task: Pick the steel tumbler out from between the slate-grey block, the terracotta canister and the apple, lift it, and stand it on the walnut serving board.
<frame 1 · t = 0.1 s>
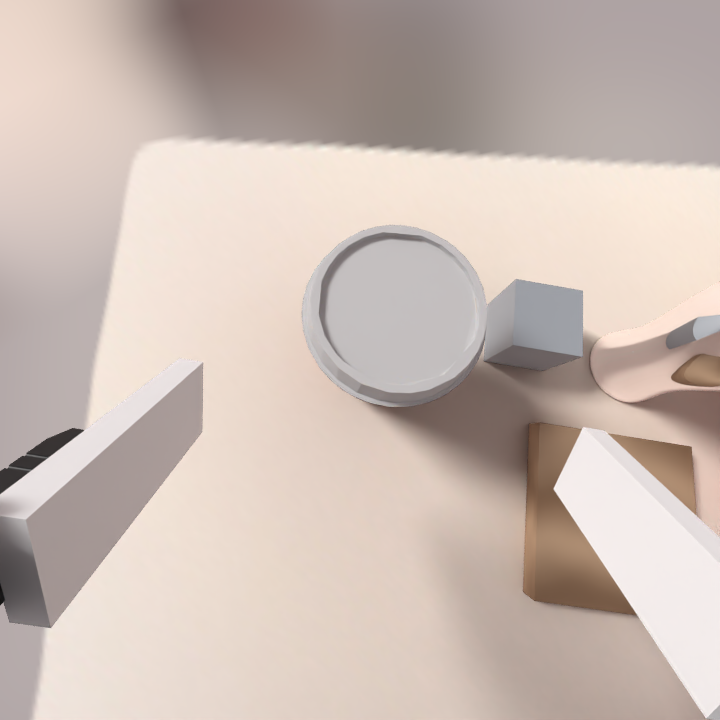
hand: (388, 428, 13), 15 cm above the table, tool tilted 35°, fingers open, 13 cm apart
disposable coffee cup: (372, 361, 29), on the table
steel tumbler: (621, 367, 31), on the table
slate block: (514, 337, 30), on the table
walnut board: (602, 514, 27), on the table
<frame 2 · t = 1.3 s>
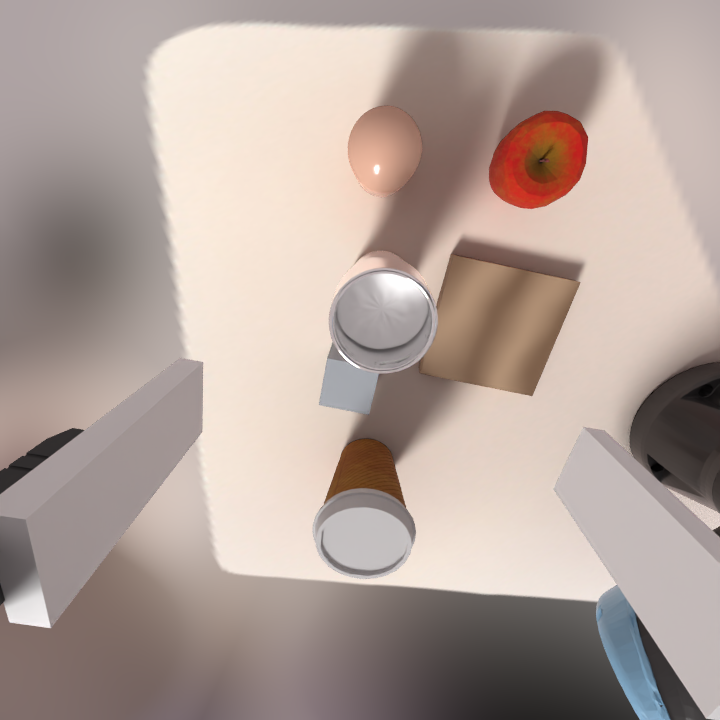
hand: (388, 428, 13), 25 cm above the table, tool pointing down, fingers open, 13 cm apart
disposable coffee cup: (366, 459, 43), on the table
terracotta canister: (382, 165, 32), on the table
steel tumbler: (380, 282, 36), on the table
apple: (511, 171, 32), on the table
slate block: (351, 367, 39), on the table
walnut board: (491, 326, 37), on the table
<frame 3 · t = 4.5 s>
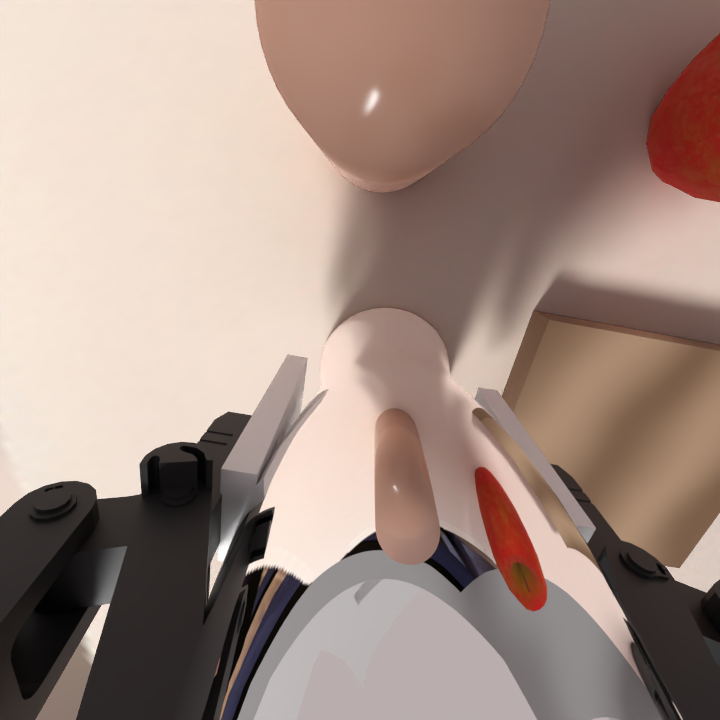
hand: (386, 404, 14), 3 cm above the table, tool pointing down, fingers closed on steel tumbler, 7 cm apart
terracotta canister: (384, 119, 14), on the table
steel tumbler: (383, 367, 18), on the table, touching gripper
apple: (687, 125, 14), on the table
walnut board: (604, 443, 19), on the table
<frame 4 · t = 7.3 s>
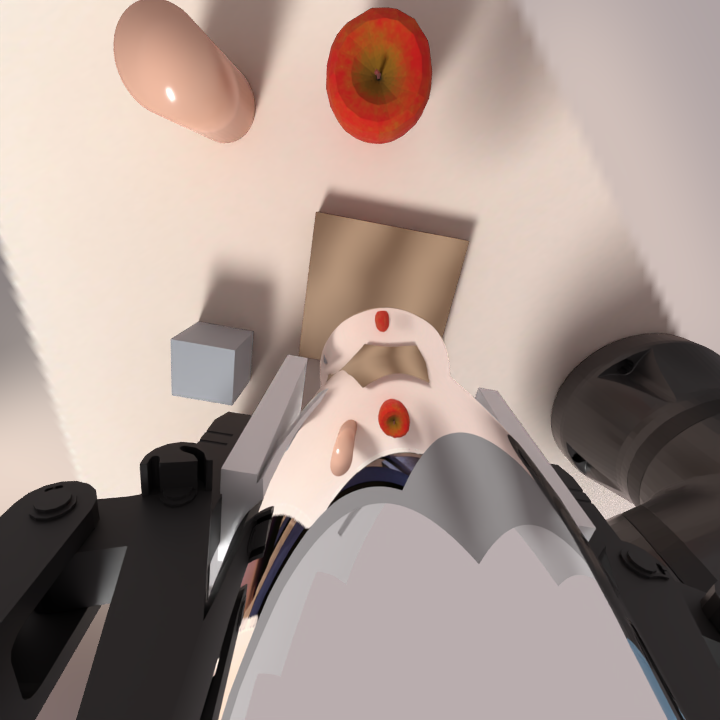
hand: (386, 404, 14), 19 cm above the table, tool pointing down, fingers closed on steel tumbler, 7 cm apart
terracotta canister: (220, 103, 26), on the table
steel tumbler: (383, 366, 17), point 15 cm above the table, touching gripper
apple: (377, 106, 26), on the table
slate block: (225, 351, 34), on the table
walnut board: (377, 298, 31), on the table
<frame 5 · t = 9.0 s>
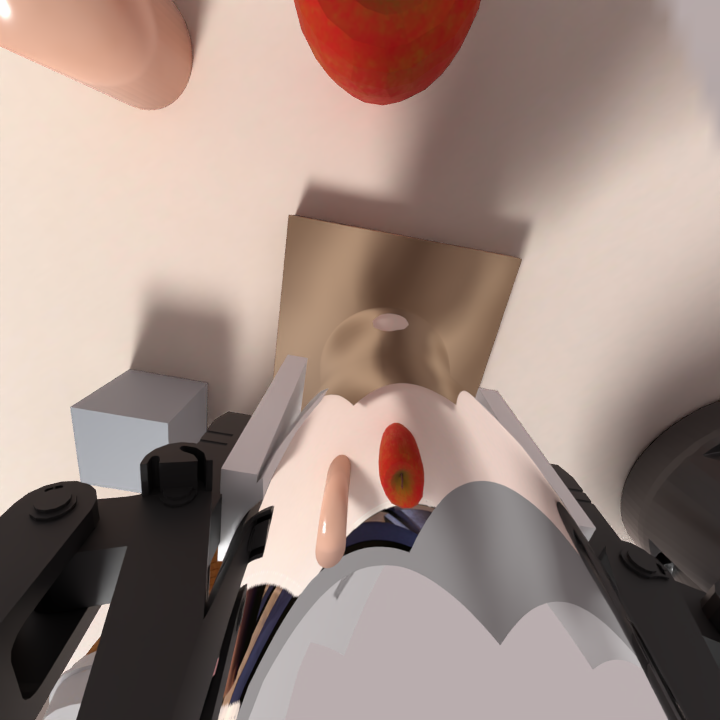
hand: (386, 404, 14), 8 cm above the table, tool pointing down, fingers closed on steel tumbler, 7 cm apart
disposable coffee cup: (224, 541, 29), on the table
terracotta canister: (138, 46, 17), on the table
steel tumbler: (383, 366, 17), point 5 cm above the table, touching gripper
apple: (382, 51, 17), on the table
slate block: (170, 408, 24), on the table
walnut board: (382, 339, 22), on the table
when the fingers open (6 cm above the table, at t = 10.3 s): steel tumbler stays where it is, resting on walnut board.
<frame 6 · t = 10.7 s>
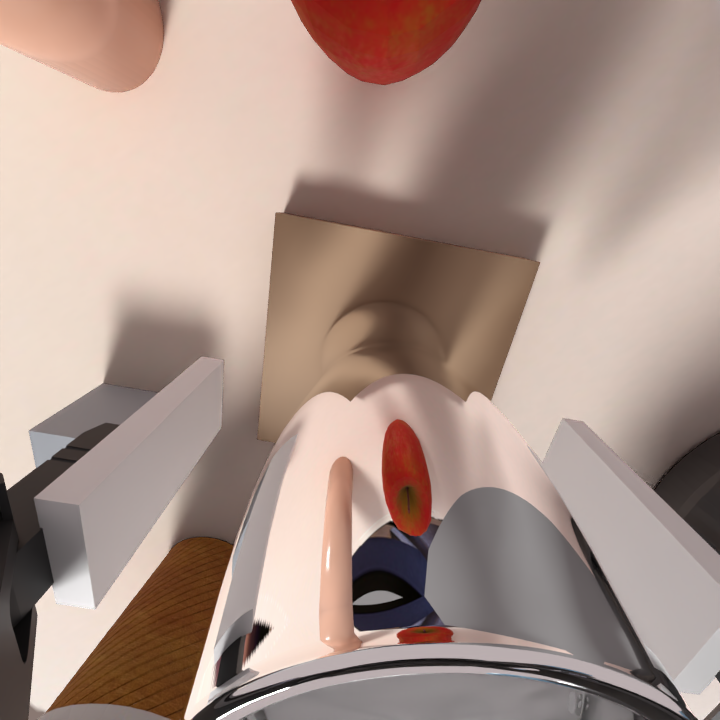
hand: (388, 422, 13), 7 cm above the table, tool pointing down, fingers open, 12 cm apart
disposable coffee cup: (211, 565, 27), on the table
terracotta canister: (101, 18, 15), on the table
steel tumbler: (382, 358, 18), point 1 cm above the table, touching walnut board
apple: (382, 23, 15), on the table
slate block: (149, 426, 22), on the table
walnut board: (382, 350, 20), on the table
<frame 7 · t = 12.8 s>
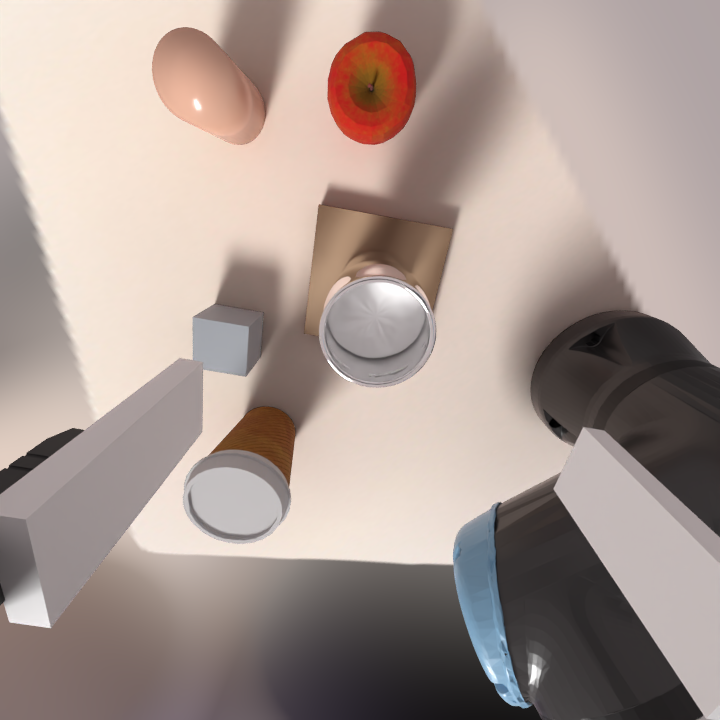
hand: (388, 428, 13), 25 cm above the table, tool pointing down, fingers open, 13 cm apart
disposable coffee cup: (268, 428, 42), on the table
terracotta canister: (235, 110, 30), on the table
steel tumbler: (373, 283, 34), point 1 cm above the table, touching walnut board
apple: (371, 112, 30), on the table
slate block: (238, 331, 38), on the table
walnut board: (373, 281, 35), on the table
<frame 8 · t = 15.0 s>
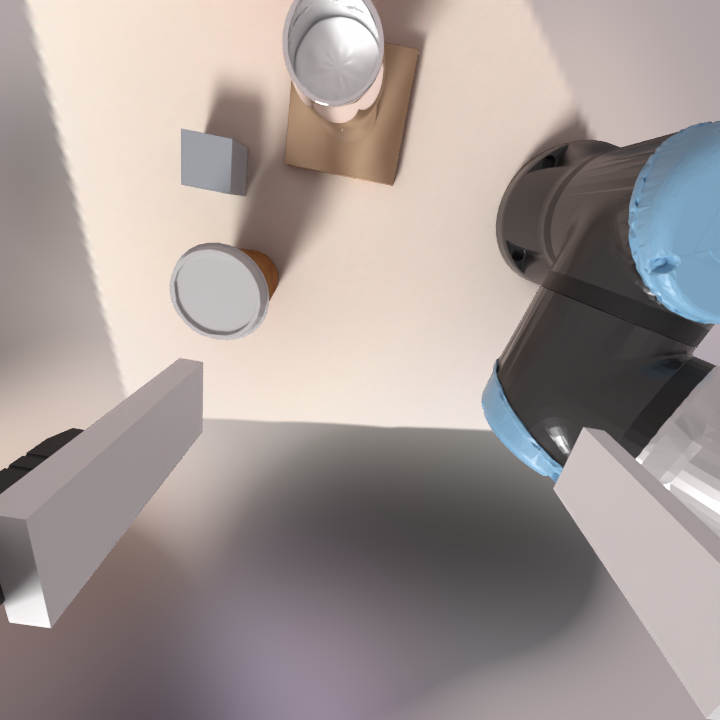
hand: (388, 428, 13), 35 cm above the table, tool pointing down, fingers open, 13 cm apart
disposable coffee cup: (253, 275, 45), on the table
steel tumbler: (347, 109, 37), point 1 cm above the table, touching walnut board
slate block: (224, 168, 41), on the table
walnut board: (348, 113, 38), on the table
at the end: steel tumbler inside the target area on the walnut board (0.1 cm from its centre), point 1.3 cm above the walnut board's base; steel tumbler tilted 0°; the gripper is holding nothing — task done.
